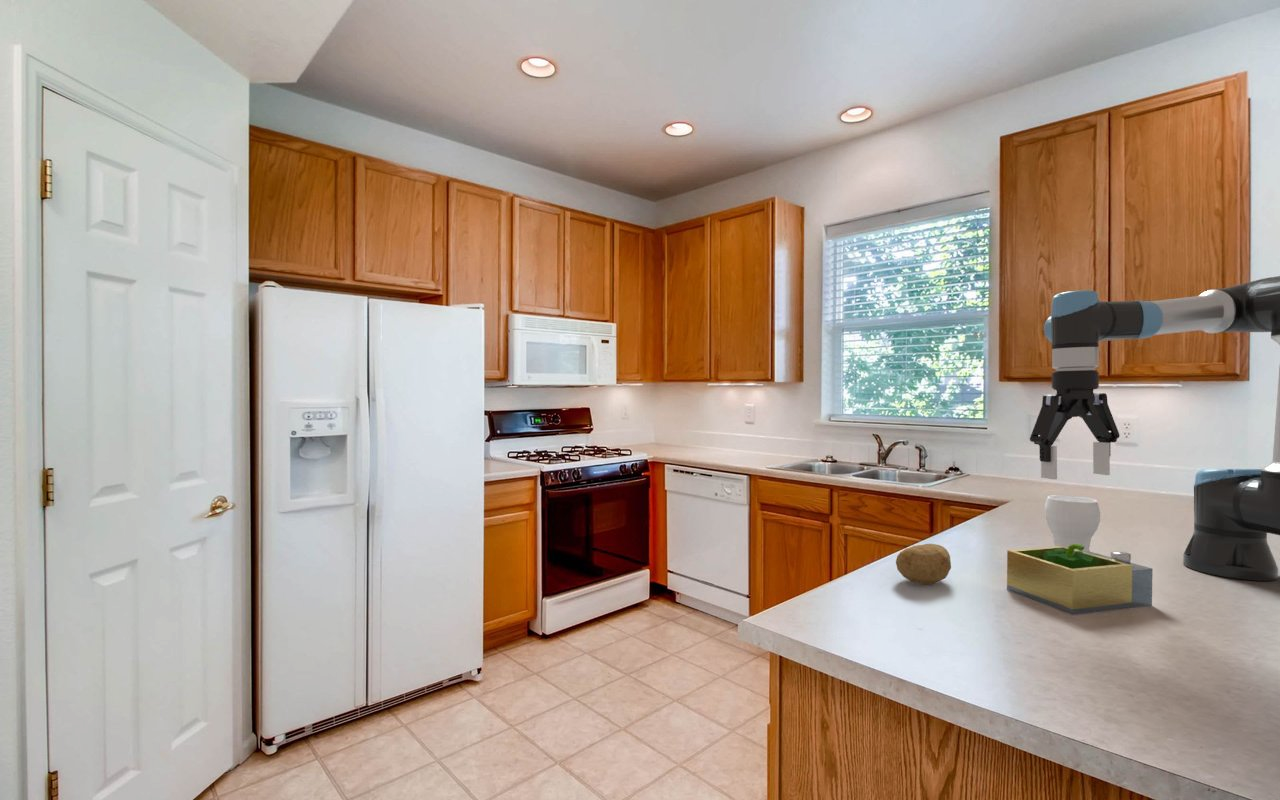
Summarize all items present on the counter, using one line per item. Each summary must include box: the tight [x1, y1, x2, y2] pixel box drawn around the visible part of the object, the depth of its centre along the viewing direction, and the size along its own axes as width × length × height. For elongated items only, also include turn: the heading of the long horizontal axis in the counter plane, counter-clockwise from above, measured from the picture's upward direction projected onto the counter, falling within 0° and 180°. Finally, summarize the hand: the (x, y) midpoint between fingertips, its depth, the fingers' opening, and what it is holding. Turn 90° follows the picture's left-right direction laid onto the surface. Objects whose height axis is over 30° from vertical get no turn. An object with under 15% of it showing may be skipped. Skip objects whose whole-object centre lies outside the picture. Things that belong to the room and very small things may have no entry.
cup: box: [1044, 494, 1101, 552], centre depth 140 cm, size 11×11×15 cm
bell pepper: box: [1043, 544, 1097, 569], centre depth 116 cm, size 8×8×10 cm
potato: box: [895, 543, 952, 586], centre depth 125 cm, size 10×14×8 cm
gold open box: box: [1006, 546, 1153, 615], centre depth 116 cm, size 19×14×9 cm
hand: (1075, 476), depth 118 cm, fingers open, 13 cm apart
